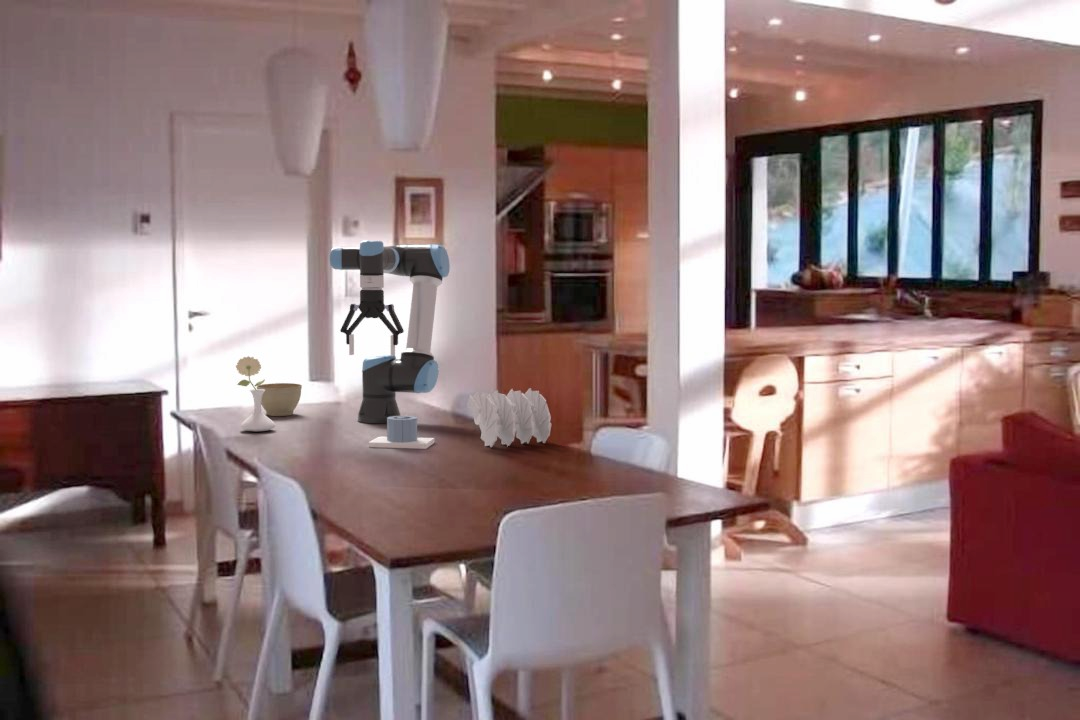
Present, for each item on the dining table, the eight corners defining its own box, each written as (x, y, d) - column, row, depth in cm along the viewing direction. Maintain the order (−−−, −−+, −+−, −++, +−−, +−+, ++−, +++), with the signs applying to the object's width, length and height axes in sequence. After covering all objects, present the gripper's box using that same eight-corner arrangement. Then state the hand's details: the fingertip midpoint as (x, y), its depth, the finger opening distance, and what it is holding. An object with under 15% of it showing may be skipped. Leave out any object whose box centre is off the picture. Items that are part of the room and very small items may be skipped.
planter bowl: (253, 413, 440) (252, 384, 439) (296, 411, 446) (295, 382, 446) (262, 418, 425) (261, 388, 424) (306, 416, 432) (306, 386, 431)
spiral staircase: (552, 456, 373) (481, 459, 361) (529, 426, 386) (460, 427, 374) (567, 407, 365) (495, 408, 353) (543, 378, 378) (473, 377, 366)
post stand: (378, 441, 376) (378, 414, 375) (434, 442, 374) (434, 415, 373) (368, 447, 364) (368, 419, 363) (426, 448, 362) (426, 421, 361)
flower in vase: (280, 429, 401) (279, 355, 398) (269, 434, 389) (268, 358, 387) (242, 428, 402) (241, 354, 400) (230, 433, 391) (229, 357, 388)
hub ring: (391, 437, 374) (391, 415, 373) (419, 438, 373) (419, 416, 372) (384, 441, 365) (384, 419, 364) (412, 442, 364) (412, 420, 363)
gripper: (330, 288, 377) (331, 355, 379) (407, 289, 374) (407, 356, 376) (337, 288, 384) (338, 353, 386) (412, 289, 381) (412, 354, 383)
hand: (372, 355), depth 381 cm, fingers open, 13 cm apart
